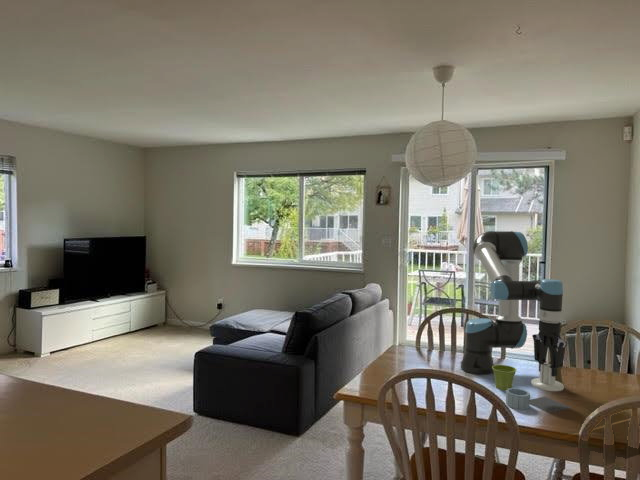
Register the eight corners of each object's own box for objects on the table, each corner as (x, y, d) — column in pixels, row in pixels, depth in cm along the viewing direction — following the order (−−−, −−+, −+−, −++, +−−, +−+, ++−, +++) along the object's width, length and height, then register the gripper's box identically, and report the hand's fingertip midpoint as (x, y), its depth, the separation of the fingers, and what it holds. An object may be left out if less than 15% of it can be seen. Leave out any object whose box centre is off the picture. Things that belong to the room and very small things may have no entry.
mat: (522, 402, 181) (522, 401, 181) (544, 397, 186) (544, 396, 186) (549, 414, 170) (550, 412, 170) (572, 408, 175) (572, 407, 175)
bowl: (501, 404, 179) (501, 390, 179) (516, 401, 182) (517, 387, 182) (518, 412, 172) (518, 397, 172) (534, 408, 175) (534, 394, 175)
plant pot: (514, 394, 189) (515, 373, 189) (489, 390, 194) (490, 369, 194) (517, 387, 198) (517, 367, 197) (493, 383, 202) (494, 363, 202)
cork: (564, 389, 195) (565, 363, 195) (549, 388, 197) (550, 362, 196) (560, 385, 201) (561, 359, 201) (545, 383, 203) (546, 358, 202)
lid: (524, 383, 181) (525, 362, 180) (544, 379, 186) (545, 359, 185) (549, 393, 171) (550, 371, 171) (570, 388, 176) (571, 367, 175)
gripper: (525, 317, 182) (522, 377, 184) (562, 326, 168) (559, 391, 169) (538, 315, 186) (536, 374, 187) (576, 324, 171) (573, 388, 173)
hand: (547, 382), depth 178 cm, fingers closed on lid, 3 cm apart
